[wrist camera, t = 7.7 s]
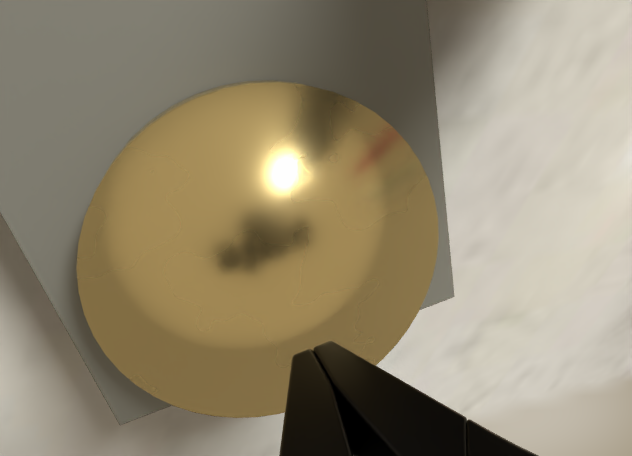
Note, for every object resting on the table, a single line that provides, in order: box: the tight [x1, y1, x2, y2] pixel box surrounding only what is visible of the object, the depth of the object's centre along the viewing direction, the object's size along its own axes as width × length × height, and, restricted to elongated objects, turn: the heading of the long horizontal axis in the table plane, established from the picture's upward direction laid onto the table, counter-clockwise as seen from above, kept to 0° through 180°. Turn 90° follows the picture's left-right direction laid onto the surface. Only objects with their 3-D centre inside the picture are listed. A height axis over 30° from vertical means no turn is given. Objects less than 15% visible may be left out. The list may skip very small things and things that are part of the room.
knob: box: [76, 80, 439, 418], centre depth 14 cm, size 10×10×5 cm
